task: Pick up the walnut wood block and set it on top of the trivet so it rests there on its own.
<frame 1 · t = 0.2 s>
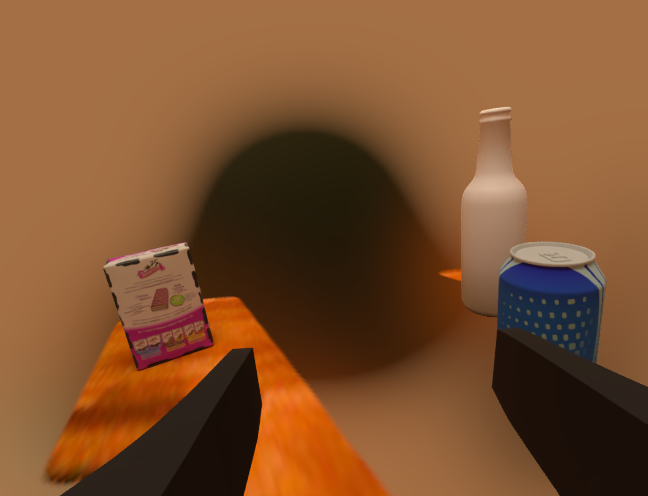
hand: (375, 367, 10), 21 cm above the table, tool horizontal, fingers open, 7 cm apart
candy bar box: (176, 352, 53), on the table
beer can: (539, 396, 36), on the table
alcohol: (490, 306, 55), on the table
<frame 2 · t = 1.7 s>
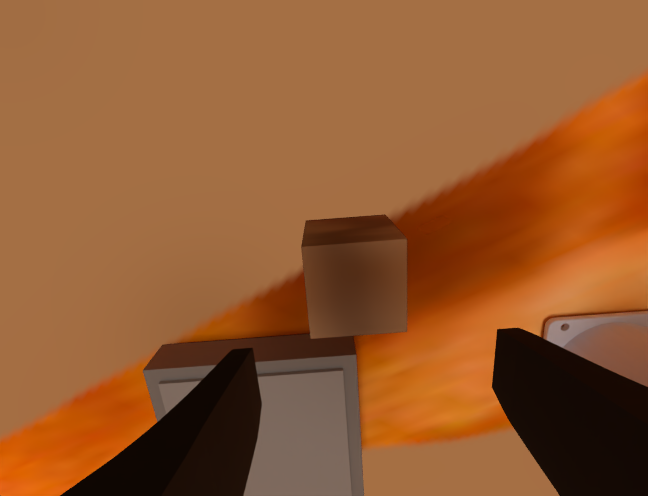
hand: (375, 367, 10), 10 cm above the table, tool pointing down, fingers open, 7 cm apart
block: (347, 255, 20), on the table
trivet: (269, 413, 23), on the table
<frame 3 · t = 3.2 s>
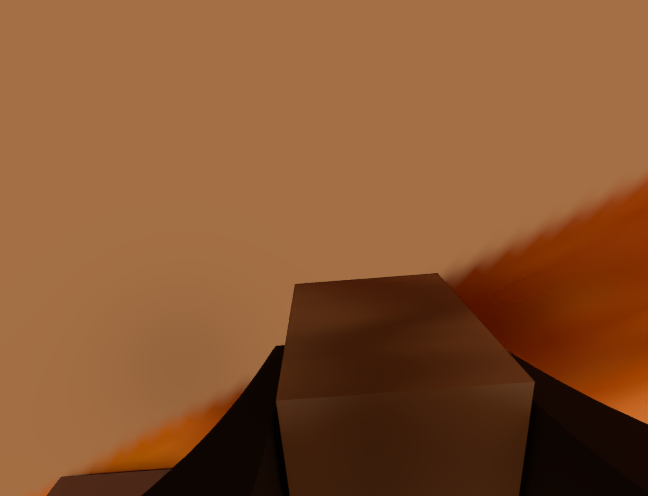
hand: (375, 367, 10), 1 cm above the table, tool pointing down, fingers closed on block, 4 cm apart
block: (368, 340, 11), on the table, touching gripper
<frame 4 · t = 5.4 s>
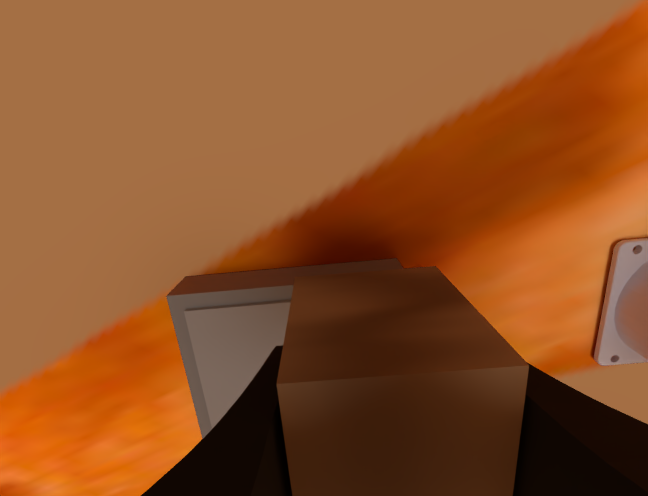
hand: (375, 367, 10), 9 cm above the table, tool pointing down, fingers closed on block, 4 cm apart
block: (367, 333, 11), point 8 cm above the table, touching gripper
trivet: (302, 357, 21), on the table
when the fingers open (5 cm above the table, at t = 7.5 s): block stays where it is, resting on trivet.
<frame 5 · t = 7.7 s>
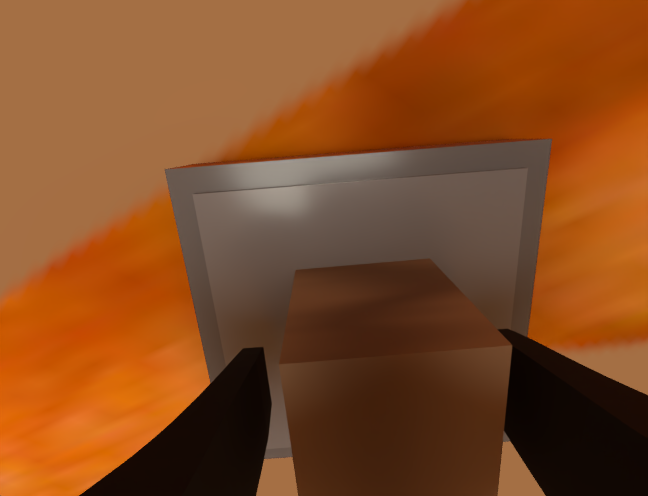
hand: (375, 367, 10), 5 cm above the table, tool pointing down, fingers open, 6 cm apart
block: (365, 323, 12), point 3 cm above the table, touching trivet
trivet: (357, 294, 15), on the table
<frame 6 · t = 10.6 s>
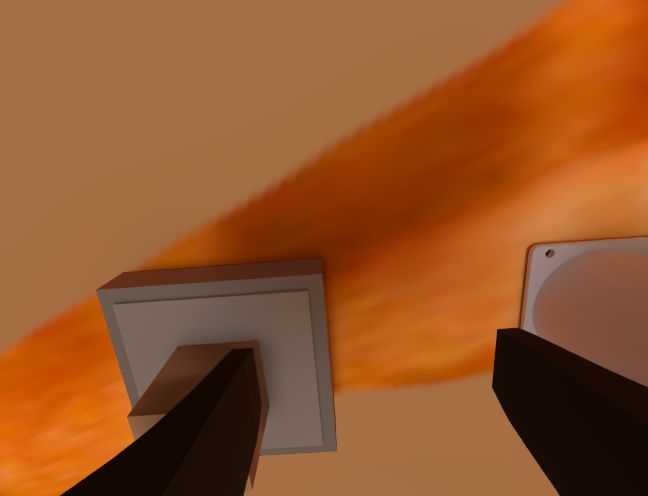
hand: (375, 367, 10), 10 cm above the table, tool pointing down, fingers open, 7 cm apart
block: (225, 377, 19), point 3 cm above the table, touching trivet
trivet: (237, 351, 22), on the table
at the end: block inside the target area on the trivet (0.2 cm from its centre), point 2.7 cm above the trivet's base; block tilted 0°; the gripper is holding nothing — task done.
